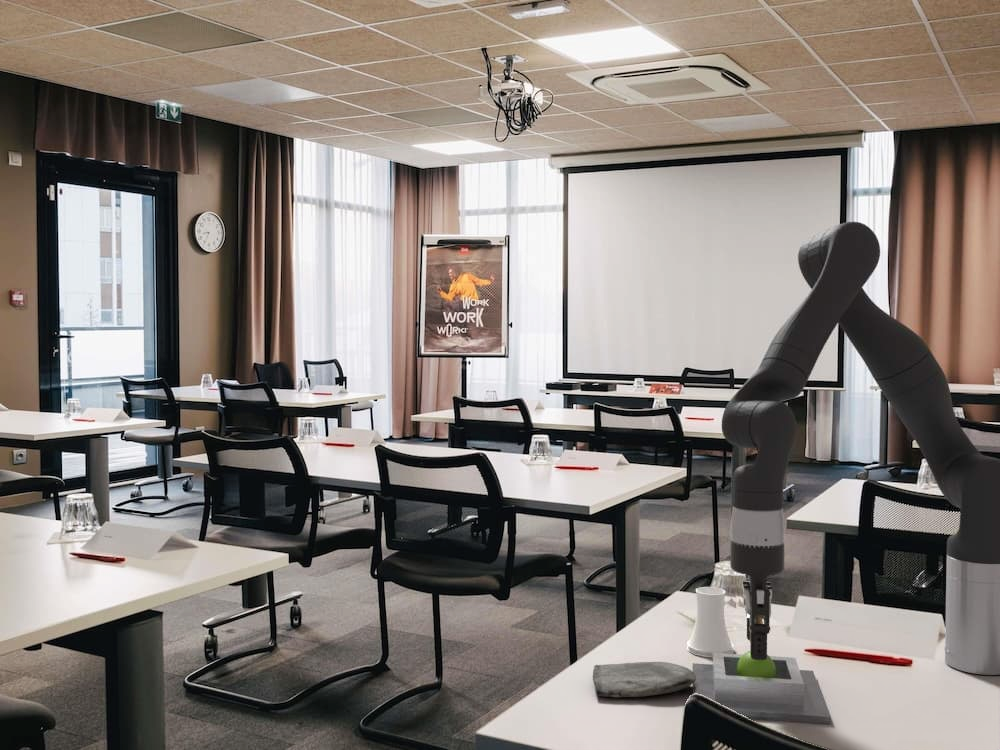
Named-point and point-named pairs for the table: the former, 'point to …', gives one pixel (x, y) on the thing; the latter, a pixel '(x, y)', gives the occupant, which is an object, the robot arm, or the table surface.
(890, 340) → the robot arm
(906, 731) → the table surface
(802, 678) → the collar block
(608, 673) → the stone
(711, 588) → the white flared stand
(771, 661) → the snail figurine
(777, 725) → the table surface
